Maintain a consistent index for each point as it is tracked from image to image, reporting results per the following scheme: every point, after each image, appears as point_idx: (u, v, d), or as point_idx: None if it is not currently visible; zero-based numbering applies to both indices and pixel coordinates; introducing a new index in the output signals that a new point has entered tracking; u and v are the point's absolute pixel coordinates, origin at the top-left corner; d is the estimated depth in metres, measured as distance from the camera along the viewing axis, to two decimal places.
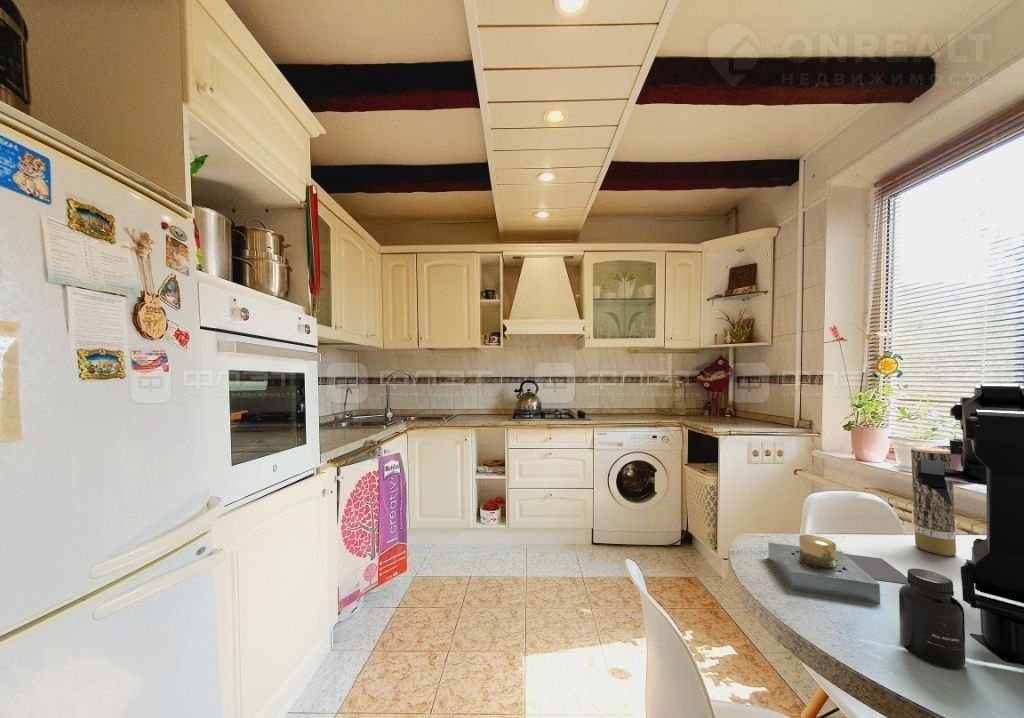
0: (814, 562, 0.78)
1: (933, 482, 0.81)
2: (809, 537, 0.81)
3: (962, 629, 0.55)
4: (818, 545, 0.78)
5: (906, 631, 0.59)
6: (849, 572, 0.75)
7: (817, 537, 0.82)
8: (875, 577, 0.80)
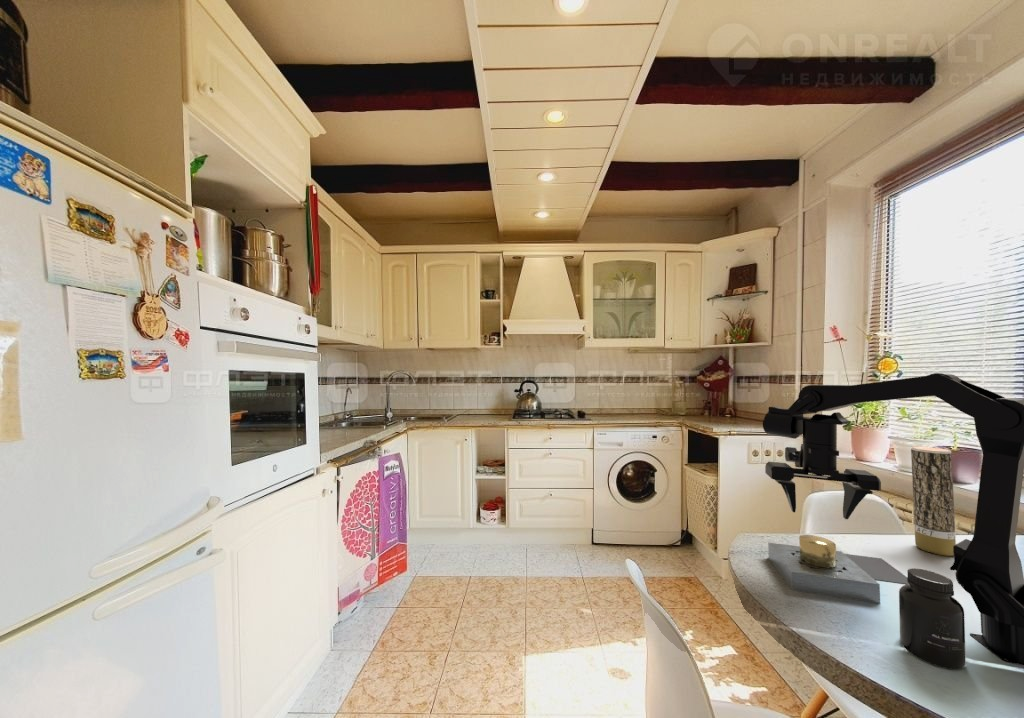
0: (814, 562, 0.78)
1: (784, 475, 0.81)
2: (809, 537, 0.81)
3: (962, 629, 0.55)
4: (818, 545, 0.78)
5: (906, 631, 0.59)
6: (849, 572, 0.75)
7: (817, 537, 0.82)
8: (875, 577, 0.80)
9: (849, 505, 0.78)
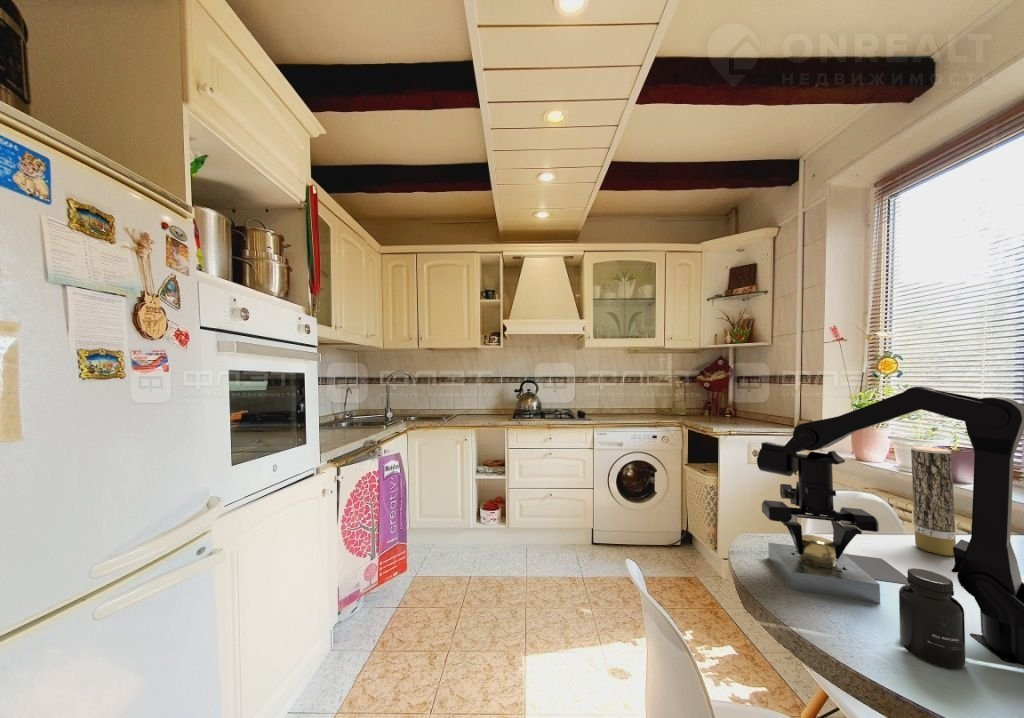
0: (814, 562, 0.78)
1: (782, 516, 0.79)
2: (809, 537, 0.81)
3: (962, 629, 0.55)
4: (818, 545, 0.78)
5: (906, 631, 0.59)
6: (849, 572, 0.75)
7: (817, 537, 0.82)
8: (875, 577, 0.80)
9: (839, 545, 0.77)
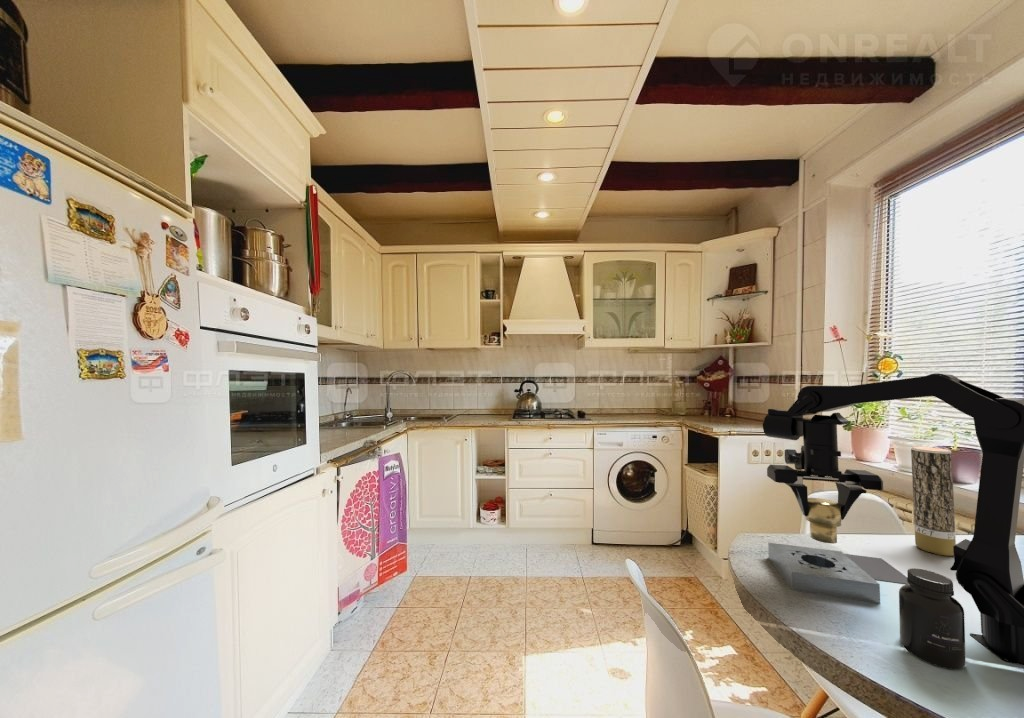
0: (819, 522, 0.79)
1: (788, 478, 0.80)
2: (814, 499, 0.82)
3: (962, 629, 0.55)
4: (823, 505, 0.78)
5: (906, 631, 0.59)
6: (849, 572, 0.75)
7: (822, 499, 0.83)
8: (875, 577, 0.80)
9: (844, 505, 0.78)
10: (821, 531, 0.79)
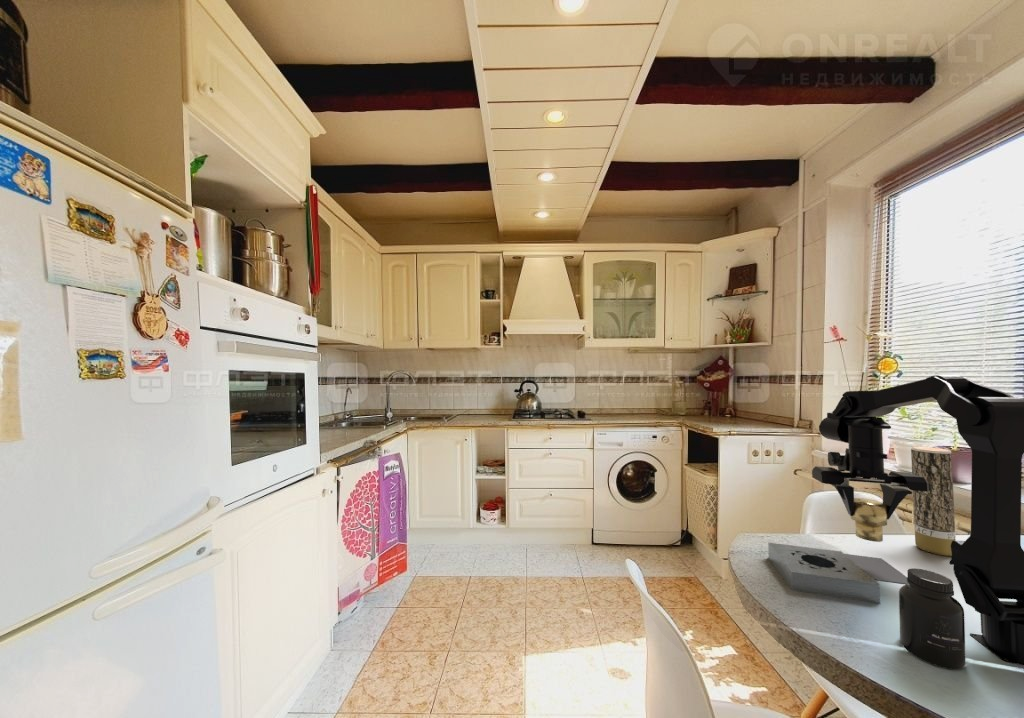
0: (866, 521, 0.82)
1: (835, 479, 0.84)
2: (859, 500, 0.86)
3: (962, 629, 0.55)
4: (869, 505, 0.82)
5: (906, 631, 0.59)
6: (849, 572, 0.75)
7: (866, 499, 0.86)
8: (875, 577, 0.80)
9: (890, 506, 0.82)
10: (867, 529, 0.83)
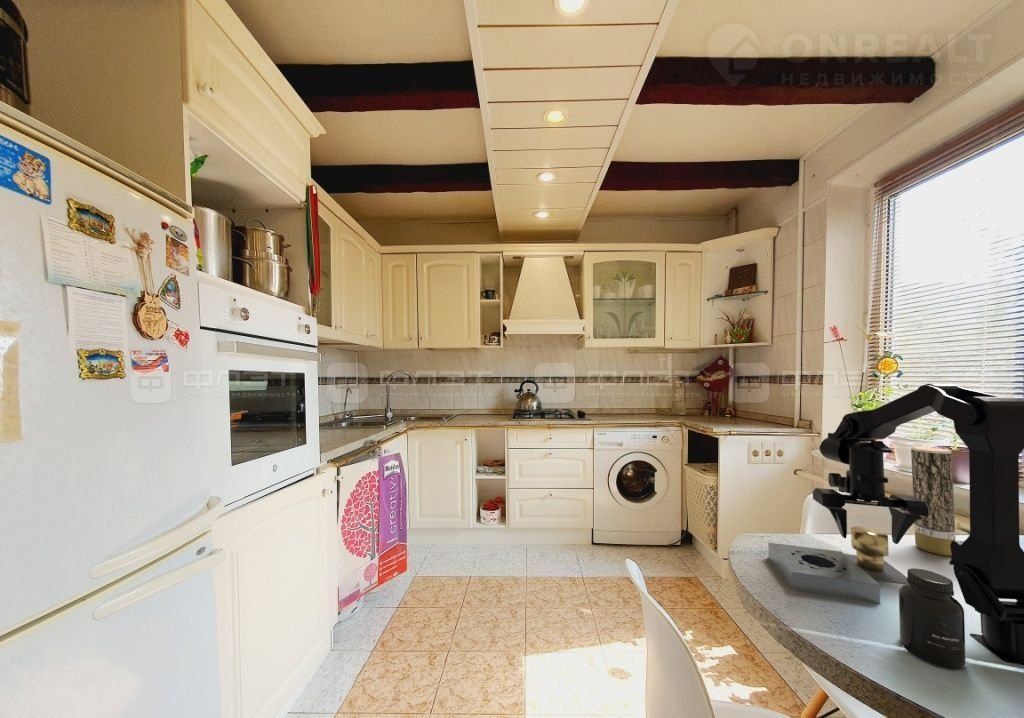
0: (867, 552, 0.82)
1: (836, 502, 0.84)
2: (860, 528, 0.86)
3: (962, 629, 0.55)
4: (871, 536, 0.82)
5: (906, 631, 0.59)
6: (849, 572, 0.75)
7: (868, 528, 0.86)
8: (875, 577, 0.80)
9: (899, 530, 0.81)
10: (868, 560, 0.83)
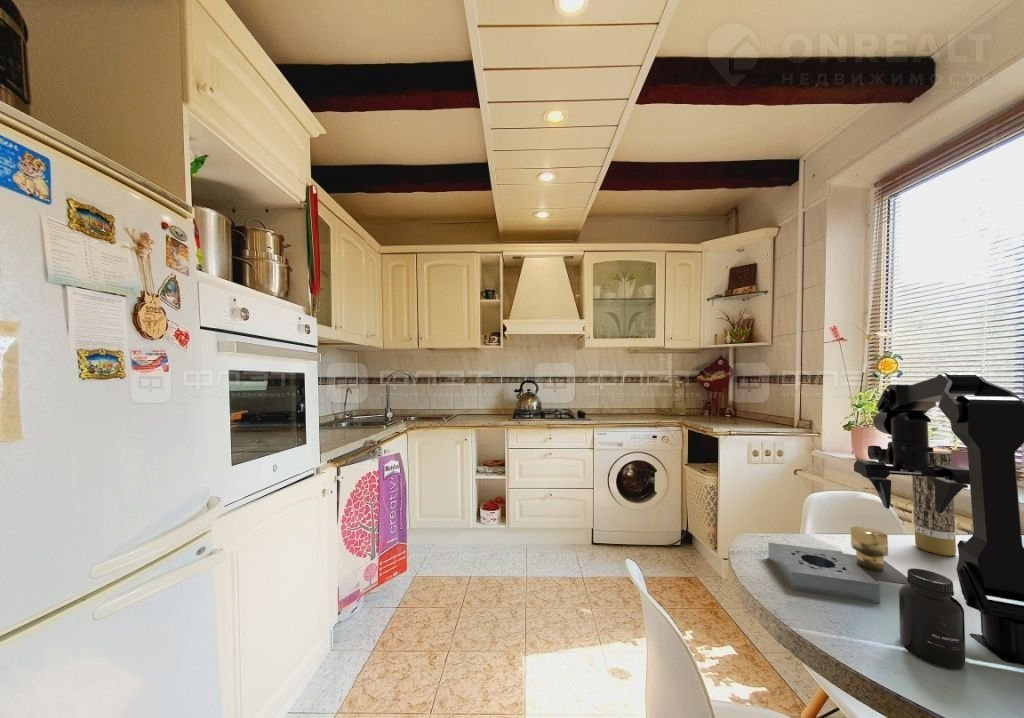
0: (867, 552, 0.82)
1: (880, 473, 0.84)
2: (860, 528, 0.86)
3: (962, 629, 0.55)
4: (870, 536, 0.82)
5: (906, 631, 0.59)
6: (849, 572, 0.75)
7: (867, 528, 0.86)
8: (875, 577, 0.80)
9: (944, 500, 0.82)
10: (868, 560, 0.83)
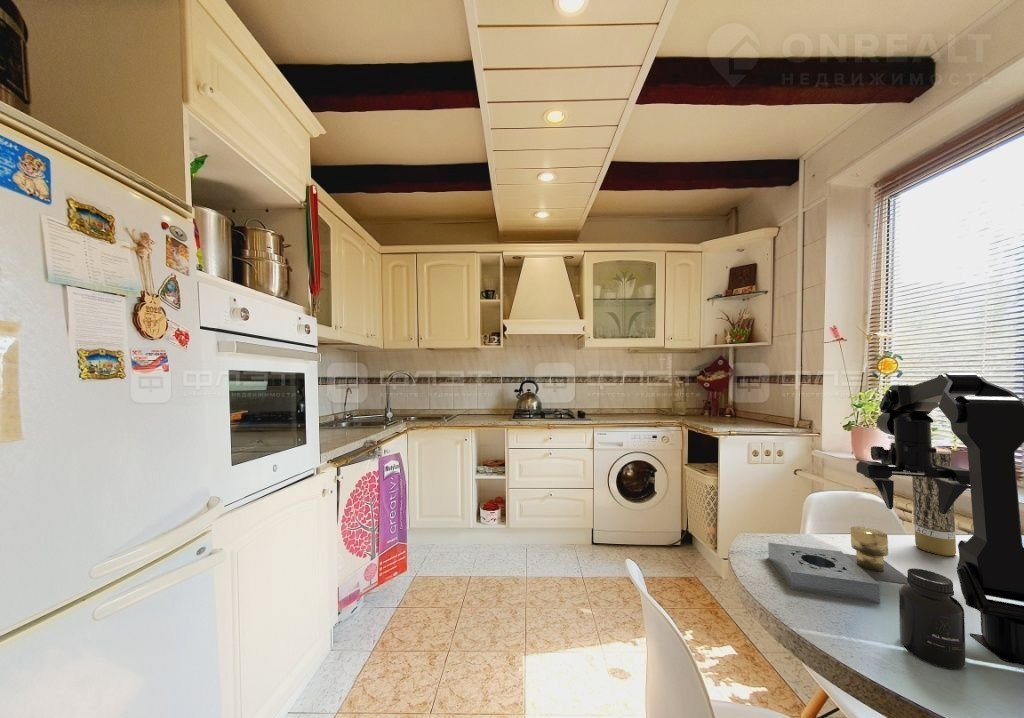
0: (867, 551, 0.82)
1: (882, 473, 0.84)
2: (860, 528, 0.86)
3: (962, 629, 0.55)
4: (870, 535, 0.82)
5: (906, 631, 0.59)
6: (849, 572, 0.75)
7: (867, 528, 0.86)
8: (875, 577, 0.80)
9: (947, 501, 0.81)
10: (868, 559, 0.83)
